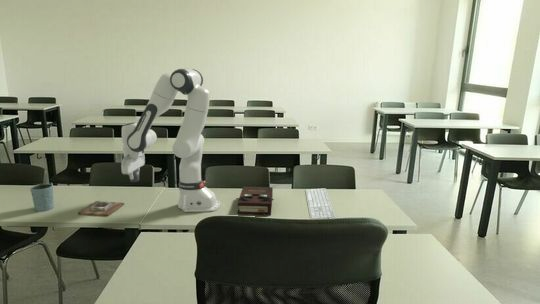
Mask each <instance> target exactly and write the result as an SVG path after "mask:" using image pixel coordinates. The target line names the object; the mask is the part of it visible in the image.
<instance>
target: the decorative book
mask: <svg viewBox="0 0 540 304" xmlns="http://www.w3.org/2000/svg"><path fill="white" fill-rule="evenodd" d="M273 191H274V190H273V187H266V186H264V187H263V186H243V187H242V189H241V192H240V195H239V197H237V198H235V200H238V201H237V207H238V208H237V215H240V216H241V215H245V216H246V215H247V216H271V215H272V207H273V206H272V205H273V201H274V200H275V199H274V198H273V194H274V193H273Z"/></svg>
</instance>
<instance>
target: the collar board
mask: <svg viewBox="0 0 540 304" xmlns="http://www.w3.org/2000/svg"><path fill="white" fill-rule="evenodd" d="M124 205H125V203H124V202H119V201H118V202H116V201H115V202H114V201H100V200H98V201H96V200H95V201H94V202H92V203H90V204H89V205H88V206H86V207H84V208H83V209H81V210H80V211H78V212H77V215H84V216H85V215H86V216H98V217H99V216H100V217H109V216H111V215H112V214H113V213H115V212H117V210H119V209H120V208H122V207H123V206H124Z"/></svg>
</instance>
